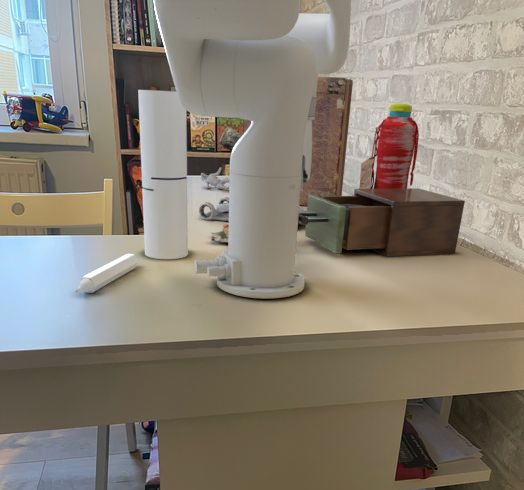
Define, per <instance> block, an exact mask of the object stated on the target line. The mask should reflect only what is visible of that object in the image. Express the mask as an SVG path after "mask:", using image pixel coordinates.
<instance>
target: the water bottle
mask: <svg viewBox="0 0 524 490" xmlns="http://www.w3.org/2000/svg"><path fill="white" fill-rule="evenodd" d="M412 111H413V106H412V105H410V104H408V103H399V102H398V103H393V104H390V106H389V115H388V116H386V118H385V119H383V120H382V121H381V123H380V124H379V125H378V126H377V127H375V128H374V129H375V132H374V136H373V144H372V150H371V156H370V157H369V158H367V159H366V160H364V161H363V162H361V163H360V172H359V173H360V175H359V188H358V189H408V183H409V186H411V187H412V186H413V184H414V183H413V182H414V171H415V169H416V162H417V158H418V157H417V156H418V149H419V138H420V133H419V126H418V123H417V122H416V121H415V120H414V119H413V117H411V115H412ZM375 161H376V169H375V168H374V167H375ZM411 165H412V166H411ZM410 169H411V171H410ZM409 177H410V180H409Z"/></svg>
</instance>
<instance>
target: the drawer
mask: <svg viewBox="0 0 524 490" xmlns="http://www.w3.org/2000/svg"><path fill="white" fill-rule="evenodd" d="M341 204H354V205H362V206H364V207H349V214H348V224H347V233H346V240H343V233H344V224H345V214H346V207H344V206H342V205H341ZM306 210H307V213H299V215H298V222H299V223H301V224H300V225H303V226H305V233H304V236H305V237H306V238H308V239H310V240H312V241H314V242H315V243H317V244H319V245H321V246H323V247H324V248H325V249H328V250H329V251H330V252H333V253H334V254H342V251H343V249H344V250H346V251H350V250H351V251H353V250H355V251H356V250H372V249H378V248H386V241H387V233H388V226H389V219H390V211H391V205H388V204H385V203H382V202H379V201H376V200H374V199H371V198H368V197H365V196H354V195H342V196H322V197H319V196H317V195H314V194H309V195H308V206H306Z"/></svg>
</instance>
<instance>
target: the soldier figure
mask: <svg viewBox="0 0 524 490" xmlns="http://www.w3.org/2000/svg"><path fill="white" fill-rule="evenodd" d="M222 169H223V167H219V169H218V170H217V172H215V173H210V174H208V175H207V174H206V173H205V172H201V173H200V179H201V181H202V182H204V183H205V189H209V187H210V186H212V187H214V188H215V189H218V190H219V189H222V190H228V191H229V186H226V185H225V184H227V183H228V184H230V178H229V177H223V178H222V179H220V178H219V177H218V176H219V175H220V173H221V172H222Z"/></svg>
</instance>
